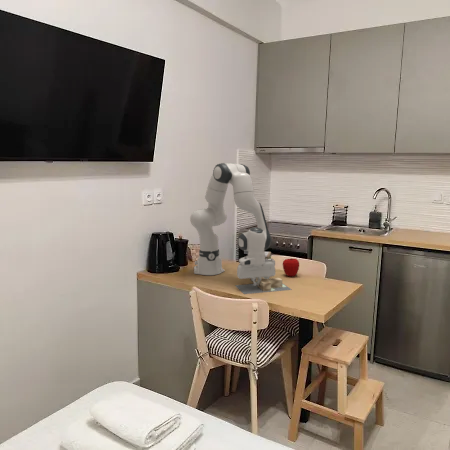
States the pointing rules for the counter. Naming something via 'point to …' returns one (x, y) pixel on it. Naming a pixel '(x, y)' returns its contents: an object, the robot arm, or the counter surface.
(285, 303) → the counter surface
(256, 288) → the mat
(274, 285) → the tee
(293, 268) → the apple
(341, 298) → the counter surface
